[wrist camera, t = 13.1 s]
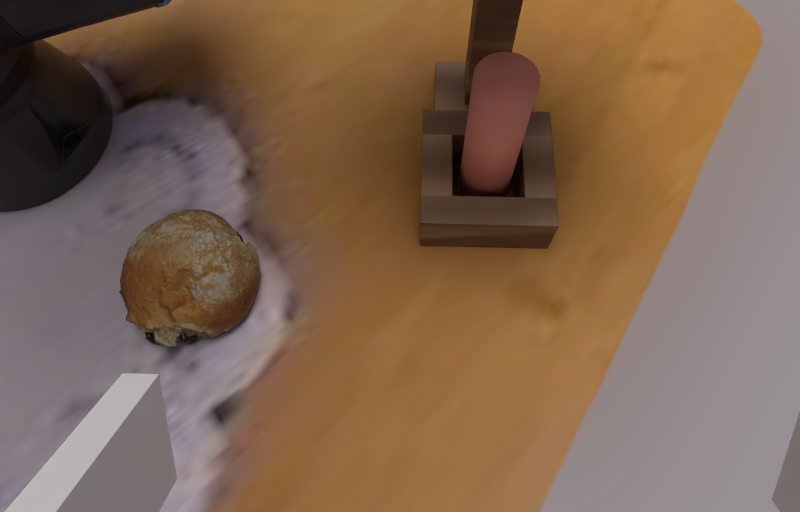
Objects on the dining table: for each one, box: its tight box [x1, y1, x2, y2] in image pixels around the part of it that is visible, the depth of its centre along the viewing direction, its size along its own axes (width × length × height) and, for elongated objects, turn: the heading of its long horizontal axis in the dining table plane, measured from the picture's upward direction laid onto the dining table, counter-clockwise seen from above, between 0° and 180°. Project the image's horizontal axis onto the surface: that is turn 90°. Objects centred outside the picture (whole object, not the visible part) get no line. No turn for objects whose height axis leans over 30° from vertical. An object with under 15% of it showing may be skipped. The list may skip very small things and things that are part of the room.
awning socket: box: [420, 0, 559, 248], centre depth 37 cm, size 17×14×28 cm
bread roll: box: [119, 210, 261, 347], centre depth 44 cm, size 10×10×8 cm
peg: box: [458, 52, 540, 197], centre depth 42 cm, size 4×4×14 cm
